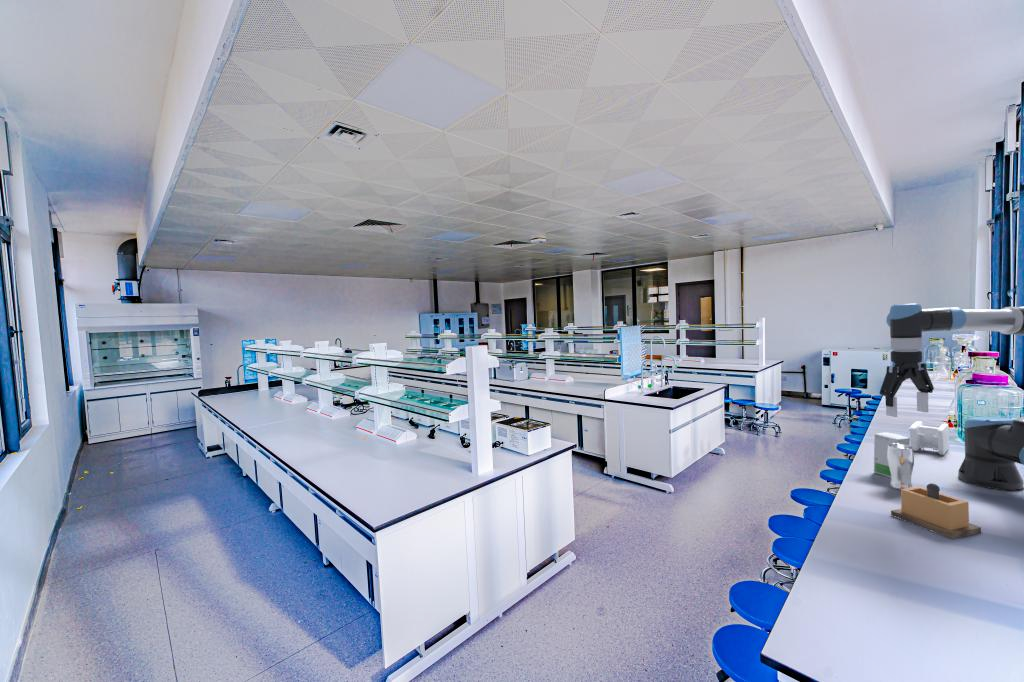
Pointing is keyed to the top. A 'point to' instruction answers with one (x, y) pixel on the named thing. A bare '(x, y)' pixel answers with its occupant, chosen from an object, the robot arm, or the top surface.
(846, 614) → the top surface
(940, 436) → the cable organizer
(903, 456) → the beer glass
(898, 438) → the skincare box
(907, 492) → the orange link
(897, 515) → the keeper board
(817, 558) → the top surface
